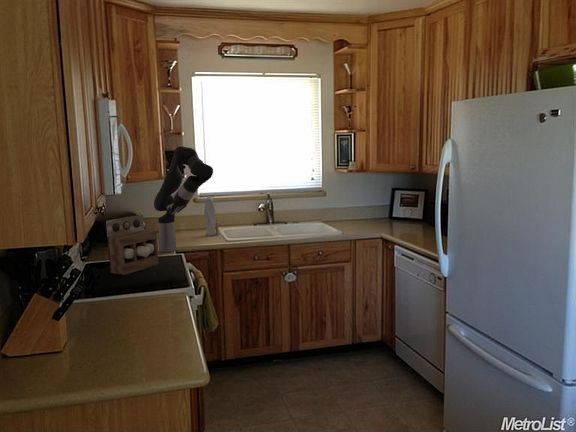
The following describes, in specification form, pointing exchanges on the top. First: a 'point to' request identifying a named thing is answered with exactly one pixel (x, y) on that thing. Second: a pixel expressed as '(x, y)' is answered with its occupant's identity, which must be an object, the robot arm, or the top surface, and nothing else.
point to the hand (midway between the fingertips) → (168, 217)
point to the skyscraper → (210, 217)
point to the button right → (150, 247)
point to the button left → (128, 253)
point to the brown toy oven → (129, 244)
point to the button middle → (142, 251)
